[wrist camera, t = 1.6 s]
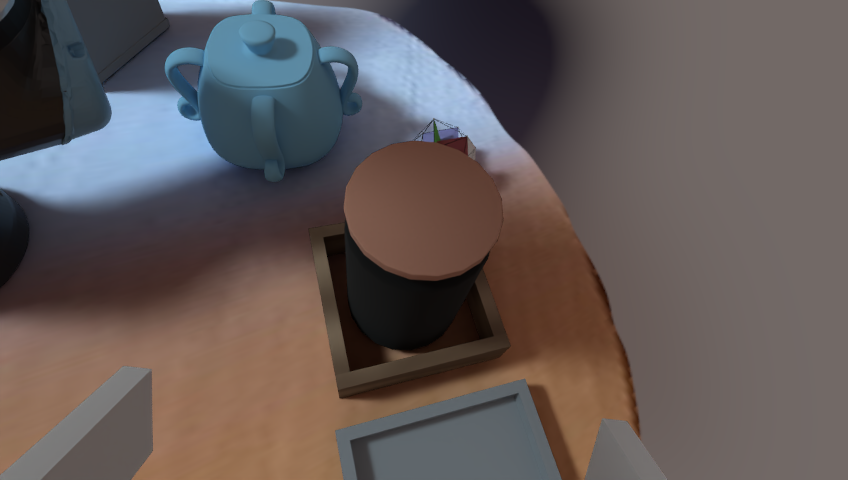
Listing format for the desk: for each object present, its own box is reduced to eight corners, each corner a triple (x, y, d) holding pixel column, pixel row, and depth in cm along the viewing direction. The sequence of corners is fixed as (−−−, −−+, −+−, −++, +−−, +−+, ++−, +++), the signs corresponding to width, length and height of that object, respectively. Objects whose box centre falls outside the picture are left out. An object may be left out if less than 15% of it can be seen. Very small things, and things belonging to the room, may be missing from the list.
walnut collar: (311, 247, 47) (308, 228, 44) (452, 222, 51) (459, 203, 47) (339, 398, 41) (337, 389, 37) (498, 357, 44) (510, 346, 41)
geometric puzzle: (392, 179, 50) (445, 145, 45) (394, 131, 53) (443, 94, 48) (437, 205, 54) (490, 176, 49) (437, 159, 58) (486, 127, 53)
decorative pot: (175, 124, 53) (122, 19, 41) (287, 62, 59) (268, -44, 48) (267, 212, 49) (237, 124, 37) (375, 135, 56) (379, 39, 44)
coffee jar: (460, 264, 49) (509, 157, 33) (447, 364, 43) (497, 292, 28) (362, 244, 48) (364, 125, 33) (336, 341, 43) (323, 256, 27)
